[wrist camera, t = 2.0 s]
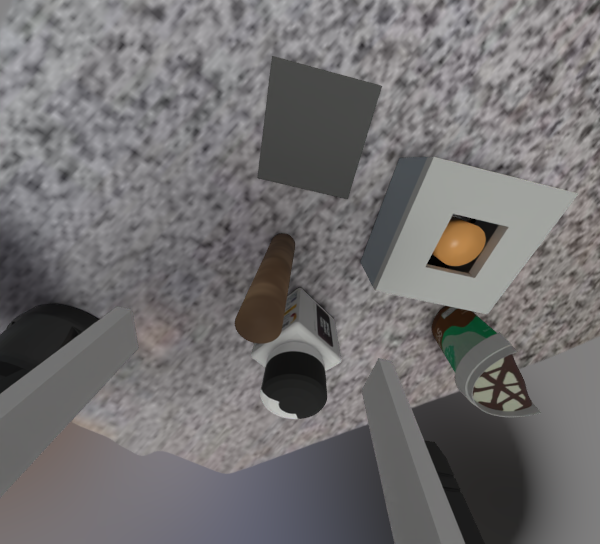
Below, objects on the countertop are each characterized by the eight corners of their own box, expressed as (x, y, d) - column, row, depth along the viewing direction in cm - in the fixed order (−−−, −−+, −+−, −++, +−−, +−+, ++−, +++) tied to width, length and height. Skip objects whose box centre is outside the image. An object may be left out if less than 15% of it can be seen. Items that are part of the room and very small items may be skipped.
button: (416, 249, 23) (430, 261, 21) (434, 212, 22) (452, 219, 19) (451, 257, 24) (469, 269, 21) (472, 221, 22) (495, 229, 19)
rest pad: (258, 177, 24) (257, 178, 24) (272, 57, 20) (272, 56, 19) (347, 198, 25) (347, 199, 24) (380, 87, 20) (381, 85, 20)
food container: (409, 311, 31) (449, 372, 22) (453, 290, 29) (516, 347, 21) (440, 363, 36) (484, 431, 27) (480, 347, 34) (542, 415, 25)
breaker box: (360, 261, 28) (375, 290, 22) (399, 158, 23) (433, 156, 16) (448, 281, 29) (487, 314, 23) (506, 184, 23) (578, 193, 17)
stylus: (269, 253, 28) (233, 338, 15) (273, 231, 27) (236, 302, 13) (292, 258, 28) (277, 347, 15) (297, 236, 27) (286, 311, 13)
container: (300, 285, 30) (294, 364, 18) (335, 319, 32) (351, 408, 21) (261, 315, 32) (235, 401, 21) (297, 345, 35) (291, 437, 23)
